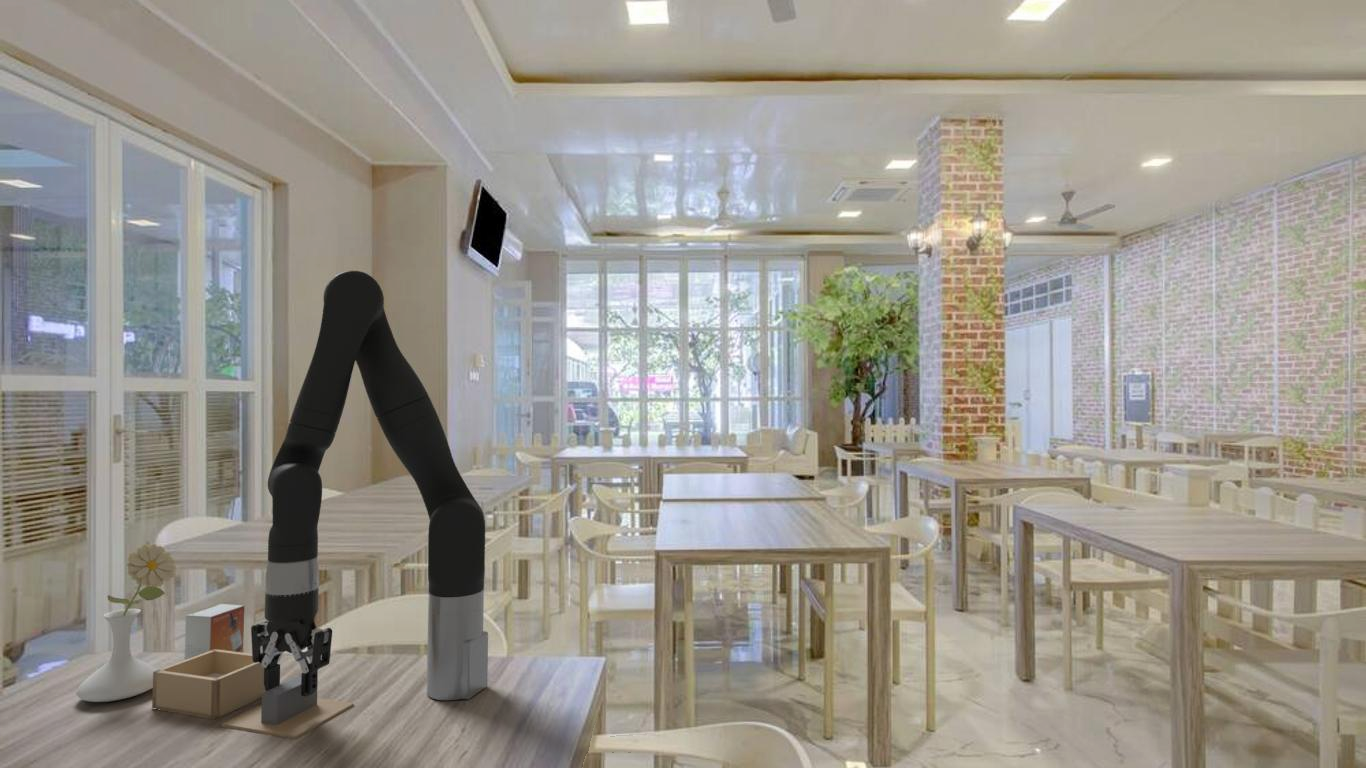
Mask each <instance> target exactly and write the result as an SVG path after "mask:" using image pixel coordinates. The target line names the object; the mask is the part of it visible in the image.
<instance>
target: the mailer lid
mask: <svg viewBox="0 0 1366 768" xmlns="http://www.w3.org/2000/svg"><path fill="white" fill-rule="evenodd" d="M301 677H302V674H301V675H298V676H297V677H294V678H292V679H290V680H288V681H285V682H283V683H280V685H279V686H277V687H274V688H272V689H270V690H268V691H266V692H264V693H262V697H261V704H260V705H258V706H255V707H253V708H251V709H249V710H247V711H245V712H242V713H241V714H239V715H237V716H234V717H233V718H231V719H228V720H226V721H224V722H222V723H221V727H223V728H228V729H235V730H240V731H246V732H252V733H253V732H254V733H259V734H263V735H270V736H276V737H282V738H287V739H288V738H289V739H293V740H295V739H297V738H299V737H301V736H303V735H305V734H306V733H309V732H310V731H311V730H314V729H315V728H317V727H319V726H320V725H322V724H324V723H326V722H328V721H329V720H331V719H333V718H334V717H336V716H338V715H339V714H341V713H344V712H345V711H347V710H349V709H350V708H352V707H354V706H355V703H354V702H347V701H340V700H335V699H334V700H333V699H327V698H321V697H318V688H317V689H316V690H315V692H314V693H313V694H311V695H309V696H307V697H305V696H302V695H301ZM318 679H319V677H318V676H317V686H318V683H319V681H318Z"/></svg>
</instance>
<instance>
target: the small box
mask: <svg viewBox="0 0 1366 768" xmlns="http://www.w3.org/2000/svg"><path fill="white" fill-rule="evenodd" d="M244 627H245V605H242V604H241V605H240V604H230V603H229V604H225V603H220V604H219V603H218V604H217V605H215V606H212V607H209V608H206V609H202V610H200V611H197V612H194V613H190V614H186V615H185V630H184V631H185V632H184V633H185V635H184V636H185V637H184V639H185V640H184V660H187V659H189V658H192V657H195V656H197V655H200V654H203V653H206V652H208V651H211V650H214V649H218V650H226V651H233V652H241V653H244V638H245V636H244V631H245V628H244Z"/></svg>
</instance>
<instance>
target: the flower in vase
mask: <svg viewBox="0 0 1366 768" xmlns="http://www.w3.org/2000/svg"><path fill="white" fill-rule="evenodd" d="M171 555H172V554H171V553H170V552H168V551H166V549H165V548H164V547H163V546H161V545H157V544H155V543H152V544H151V545H148V544H147V543H144V544H142V546H138V547H137V549H136V551H135V550H134V551H132V552H131V553H129V556H128V558H127V561H128V563H127V565H126V566H127V570H128V571H127V575H129V576H130V577H131V579H132V580H133V581H135V582H136V584H137V585H138V587H137V589H136V592H135V593H134V595H133V596H132V598H131V600H129V599H127V598H119V597H115V596H111V595H109V594H107V600H108V601H109V602H110V603H114V604H122V605H127V606H126V607H125V609H124V608H123V609H119V610H113V611H110V612H107V613H105V614H103V618H104V619H105V620H106V621H107V622H108V624H109V625H110V629H111V632H112V640H113V641H112V653H111V656H110V658H109V659H108V660H107V662H105V664H103V665H102V666H101V667H100V668H98V669H97V670H96V671H94V672H93V673H92V674H91V675H90V676H89V677H87V678H86V679H85V680H84V681H83V682H82V683H81V684H80V685H79V686H78V688H77V691H76V694H75V695H76V696H77V697H78V699H80V701H81V700H82V701H85V702H94V703H106V702H114V701H120V700H124V699H127V698H132V697H134V696H138V695H141V694H143V693H145V692H148V691H149V690H151V689H153V672H154V671H156V670H158V669H157V668H156V667H154V666H152V665H150V664H148V663H147V662H145V661H142V660H140V659H139V658H136V657H135V656H134V655H133V653H132V652H131V641H130V640H131V632H132V628H133V625H134V623H135V620H136V618H137V617H138V616H139V614H140V613H141V612H142V610H141V609H140V608H139V609H138V608H130V607H131V605H132V604H133V602H134V601H135V599H136V598H137V596H138V595H139V597H140V598H142V599H143V600H145V601H154V600H156V599H158V598H160V597H161V596H163V595H165V591H164V590H163V589H161V588H160V587H161V586H162V585H164V583H165V582H169V581H170V580H171V578H174V576H175V573H174V571H175V570H176V569H177V566H176V565H175V563H176V561H175V559H174V557H172V556H171ZM141 586H145V587H143V588H142V589H141ZM140 589H141V590H140Z"/></svg>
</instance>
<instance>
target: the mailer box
mask: <svg viewBox="0 0 1366 768" xmlns="http://www.w3.org/2000/svg"><path fill="white" fill-rule="evenodd" d="M264 692H266V690H265V686H264V668H263V667H262V665H261V663H259V662H257V663H254V662H253V658H252V653H249V652H248V653H247V652H243V653H241V652H233V651H226V650H218V649H214V650H211V651H208V652H206V653H203V654H200V655H197V656H195V657H192V658H189V659H187V660H185V659H184V660H181V661H179V662H175V663H173V664H170V665H168V666H165V667H163V668H159V669H157V670H156V671H154V672H153V688H152V699H151V700H152V703H151V705H152V706H151V709H152V708H156V709H160V710H159V711H161V710H164V711H163V712H167V711H170V712H169V713H173V712H174V713H175V714H180V715H186V716H193V717H199V718H205V719H209V720H210V719H211V720H216V719H218V718H219V719H220V718H221V717H223V716H225V715H227V714H229V713H232V712H234V711H235V710H237V709H239V708H243V707H244V706H246V705H248V704H250V703H253V702H255V701H257V700H258V699H262V693H264Z"/></svg>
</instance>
